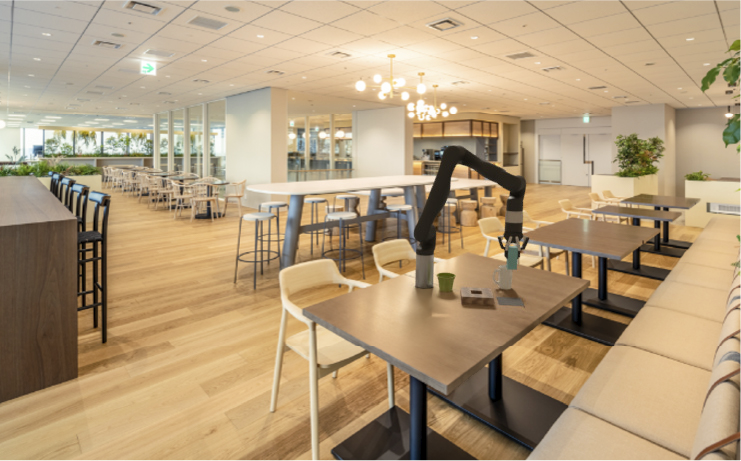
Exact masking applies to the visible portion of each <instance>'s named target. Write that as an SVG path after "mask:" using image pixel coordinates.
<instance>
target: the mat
mask: <svg viewBox="0 0 741 461" xmlns="http://www.w3.org/2000/svg"><path fill="white" fill-rule="evenodd" d="M495 298H496V301H497V304H498V305H499V306H514V307H523V308H524V309H525V304H524V302H523V300H522V298H521V297H512V296H510V297H509V296H495Z"/></svg>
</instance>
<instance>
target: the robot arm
mask: <svg viewBox="0 0 741 461" xmlns="http://www.w3.org/2000/svg"><path fill="white" fill-rule="evenodd" d="M439 163H440V164H439V167H438V170H437V174H436V176H435V178H434V181H433V184H432V186H431V189H430V191H429V193H428V196H427V200H426V202H425V204H424V206H423V210H422V213H421V214H420V217H419V219H418V221H417V222H416V225H415V227H414V229H413V237H414V239H415V241H417V242H419V244H418V246H417V247H416V250H415V273H414V275H415V279H414V280H415V284H414V285H415V286H414V287H415V288H421V289H430V288H433V287H434V273H435V272H434V266H435V262H434V259H435V250H436V247H437V246H436V245H437V230H436V227H435V225H434V224H433V223H434V222H435V219H436V218H437V216H438V215H439V213H440V212H441V211H442V210H443V208H444V207H445V205H446V204H447V201H448V199H449V196H450V192H451V185H452V183H451V182H452V177H453V173H454V171H455V169H456V167H457V165H461V166H464V167H466V168H470V169H472V171H473V170H474V171H475V172H476V173H478V174H479V175H480V176H482V177H483V178H485V179H487V180H488V181H491V182H492V183H496V184H497V185H498V186H500V187H501V188H503V189H504V190H506V191H508V192H509V195H508V197H507V199H506V204H505V210H506V211H505V216H504V232H503V234H502V235H497V236H496V238H497V241H498V244H499V247H500V249H502V250H503V251H504V253H503V255H504V258H505V260H507V259H508V247H509V246H511V244H515V246H517V248H518V258H517V260H519V259H520V258H521V252H522V251H525V250H526V247H527V246H528V243H529V240H530V237H529V236H526V235H525V234H523V227H524V225H523V224H524V200H525V195H526V188H527V182H526V179H525V177H524V176H522V175H521V174H520V175H514V174H513V173H512V174H511V173H509V172H507V171H506V169H504V168H503V167H501V166H498V165H496V164H494V163H492V162H490V161H488V160H486V159H483V158H481V157H479V156H477V155H476V154H474V153H473V152H472V151H470V150H468V149H467V148H466V147H464V146H462V145H460V144H451V145H448V146H447V147H446V148H444V150H443V152H442V156H441V159H440V162H439ZM504 239H505V241H506V242H505V245H504V244H503V240H504ZM522 240H523V241H522ZM521 241H522V245H521V244H520V242H521Z"/></svg>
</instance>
